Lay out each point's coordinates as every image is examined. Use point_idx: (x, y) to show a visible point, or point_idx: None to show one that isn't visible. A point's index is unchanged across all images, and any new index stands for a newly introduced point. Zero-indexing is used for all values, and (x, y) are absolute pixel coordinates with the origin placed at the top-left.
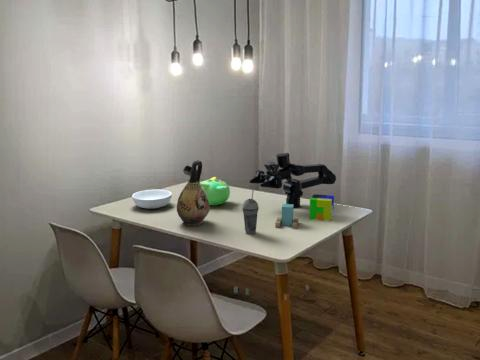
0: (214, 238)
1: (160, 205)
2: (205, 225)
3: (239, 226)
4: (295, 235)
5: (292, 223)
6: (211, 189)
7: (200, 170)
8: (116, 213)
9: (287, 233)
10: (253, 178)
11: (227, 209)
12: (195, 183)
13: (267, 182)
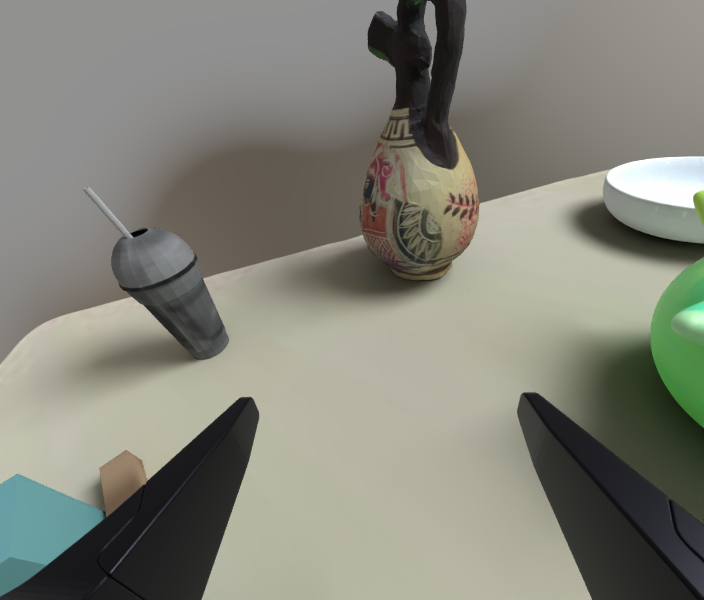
0: (270, 268)
1: (618, 217)
2: (375, 279)
3: (289, 346)
4: (7, 468)
5: None
6: (698, 275)
7: (436, 45)
8: (587, 181)
9: (55, 454)
10: (602, 469)
11: (583, 426)
12: (391, 113)
13: (136, 507)
